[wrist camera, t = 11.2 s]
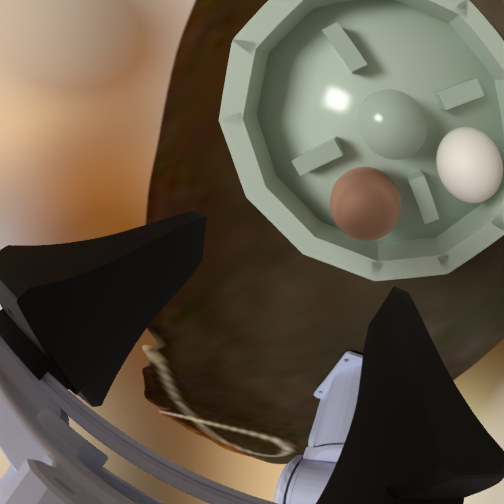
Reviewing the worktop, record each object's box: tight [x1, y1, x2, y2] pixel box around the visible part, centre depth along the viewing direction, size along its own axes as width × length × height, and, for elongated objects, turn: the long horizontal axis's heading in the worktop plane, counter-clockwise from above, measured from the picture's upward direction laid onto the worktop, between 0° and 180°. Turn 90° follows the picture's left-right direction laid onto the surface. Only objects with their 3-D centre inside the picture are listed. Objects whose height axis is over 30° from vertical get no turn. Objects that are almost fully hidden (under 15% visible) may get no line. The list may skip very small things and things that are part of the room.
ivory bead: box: [436, 127, 503, 203], centre depth 11 cm, size 4×4×4 cm
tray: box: [219, 0, 504, 281], centre depth 13 cm, size 18×18×3 cm
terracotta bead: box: [330, 167, 401, 241], centre depth 14 cm, size 4×4×4 cm
